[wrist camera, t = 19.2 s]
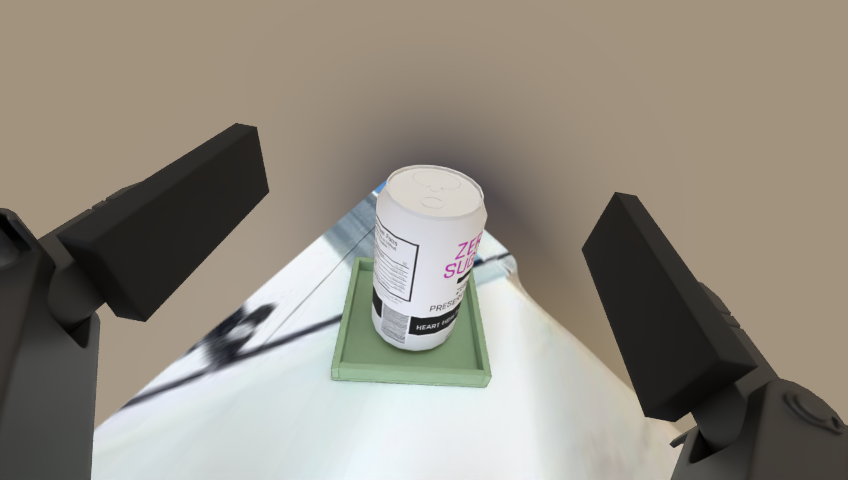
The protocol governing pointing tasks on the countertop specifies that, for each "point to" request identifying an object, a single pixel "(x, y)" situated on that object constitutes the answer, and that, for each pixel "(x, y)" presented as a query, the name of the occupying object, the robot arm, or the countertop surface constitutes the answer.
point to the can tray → (383, 362)
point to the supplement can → (424, 253)
